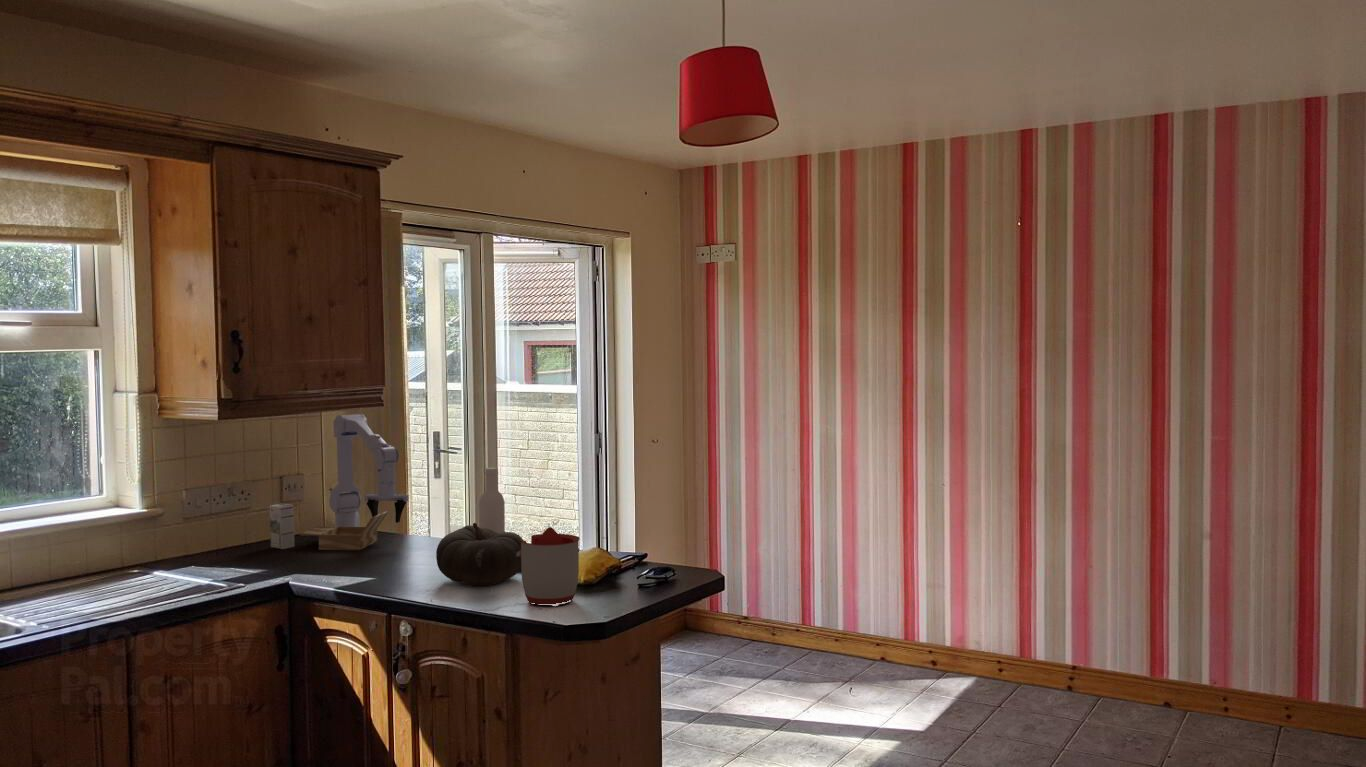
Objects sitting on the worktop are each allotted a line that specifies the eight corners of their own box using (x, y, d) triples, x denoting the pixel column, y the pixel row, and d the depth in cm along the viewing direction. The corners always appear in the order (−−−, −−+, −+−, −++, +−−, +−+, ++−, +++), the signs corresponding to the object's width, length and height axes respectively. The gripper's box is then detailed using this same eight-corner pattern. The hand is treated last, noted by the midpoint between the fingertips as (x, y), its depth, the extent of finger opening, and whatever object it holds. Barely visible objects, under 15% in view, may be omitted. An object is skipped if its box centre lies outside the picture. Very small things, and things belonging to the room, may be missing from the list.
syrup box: (295, 546, 352) (294, 504, 351) (280, 549, 347) (279, 506, 346) (284, 545, 355) (283, 502, 354) (269, 547, 350) (268, 505, 349)
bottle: (475, 566, 320) (474, 469, 319) (485, 561, 328) (485, 466, 327) (499, 567, 318) (498, 470, 317) (509, 562, 326) (508, 467, 325)
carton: (318, 540, 363) (318, 526, 363) (377, 541, 362) (377, 527, 362) (298, 549, 347) (298, 534, 347) (359, 550, 346) (359, 535, 346)
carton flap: (387, 510, 360) (388, 511, 360) (376, 527, 361) (377, 528, 361) (371, 517, 346) (372, 518, 346) (360, 534, 346) (361, 535, 346)
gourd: (456, 560, 316) (462, 505, 313) (533, 576, 312) (540, 521, 309) (420, 587, 292) (426, 528, 289) (503, 605, 288) (511, 546, 285)
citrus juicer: (533, 592, 286) (532, 520, 285) (590, 598, 279) (589, 524, 279) (503, 605, 271) (502, 529, 270) (562, 612, 265) (562, 533, 264)
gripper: (361, 483, 349) (361, 523, 349) (403, 483, 348) (403, 524, 348) (369, 480, 356) (369, 520, 357) (410, 481, 355) (410, 520, 355)
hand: (386, 522), depth 353 cm, fingers open, 7 cm apart
